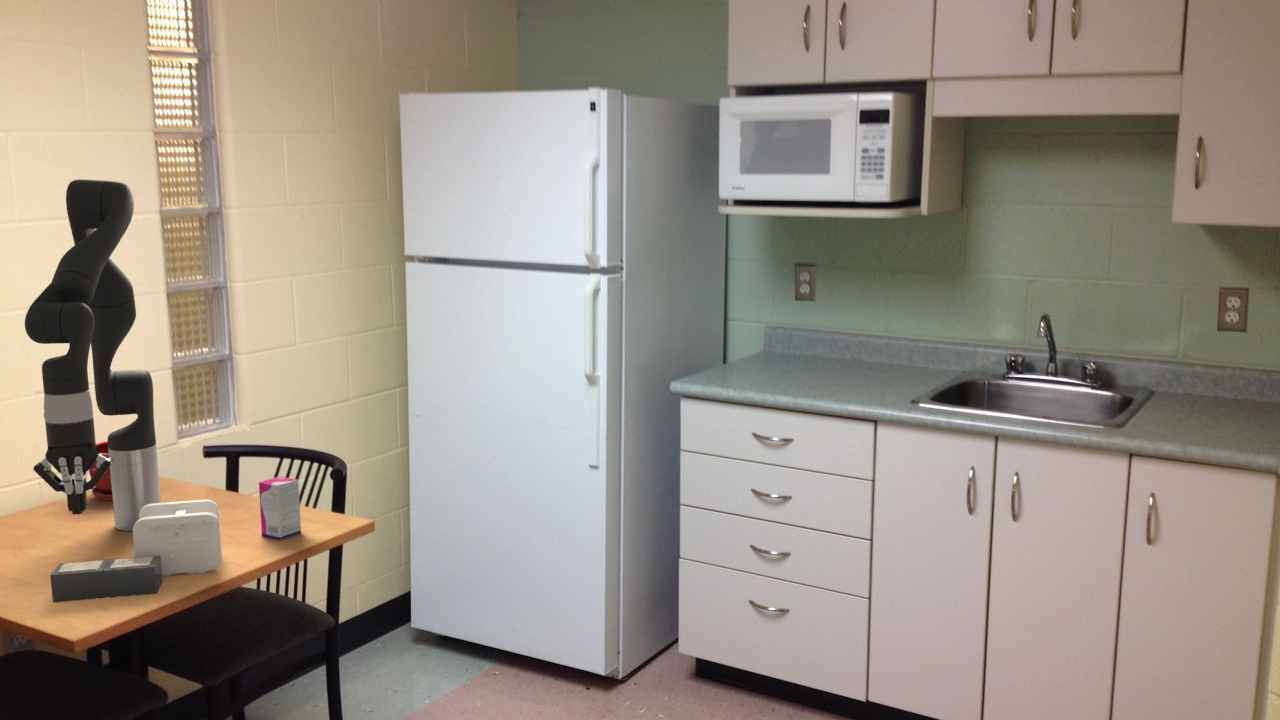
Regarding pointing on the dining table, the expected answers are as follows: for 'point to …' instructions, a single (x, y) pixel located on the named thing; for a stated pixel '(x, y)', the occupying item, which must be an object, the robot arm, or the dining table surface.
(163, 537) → the cable organizer
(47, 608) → the dining table surface
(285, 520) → the supplement box
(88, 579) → the block
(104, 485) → the plant pot
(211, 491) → the dining table surface
